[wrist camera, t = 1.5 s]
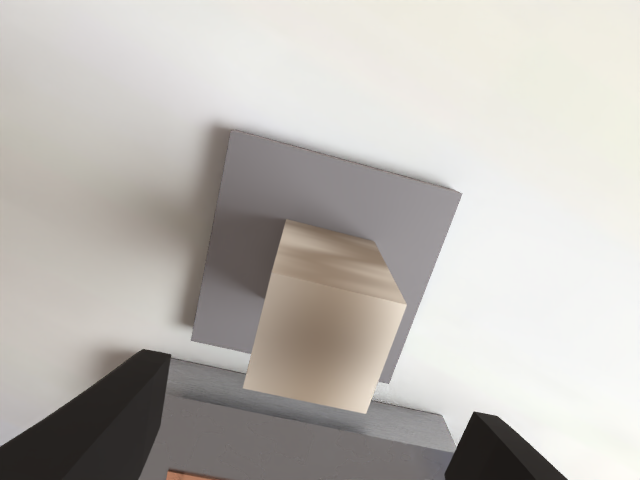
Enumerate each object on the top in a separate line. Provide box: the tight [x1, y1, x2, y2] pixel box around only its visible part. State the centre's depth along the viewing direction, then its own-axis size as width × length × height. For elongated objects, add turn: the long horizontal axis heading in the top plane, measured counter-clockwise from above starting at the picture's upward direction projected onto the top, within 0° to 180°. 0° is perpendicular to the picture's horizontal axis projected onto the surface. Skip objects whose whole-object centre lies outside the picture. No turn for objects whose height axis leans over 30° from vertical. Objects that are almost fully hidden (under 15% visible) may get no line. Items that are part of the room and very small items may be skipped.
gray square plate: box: [191, 130, 462, 384], centre depth 17 cm, size 10×10×1 cm
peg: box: [243, 219, 407, 414], centre depth 14 cm, size 4×4×6 cm
